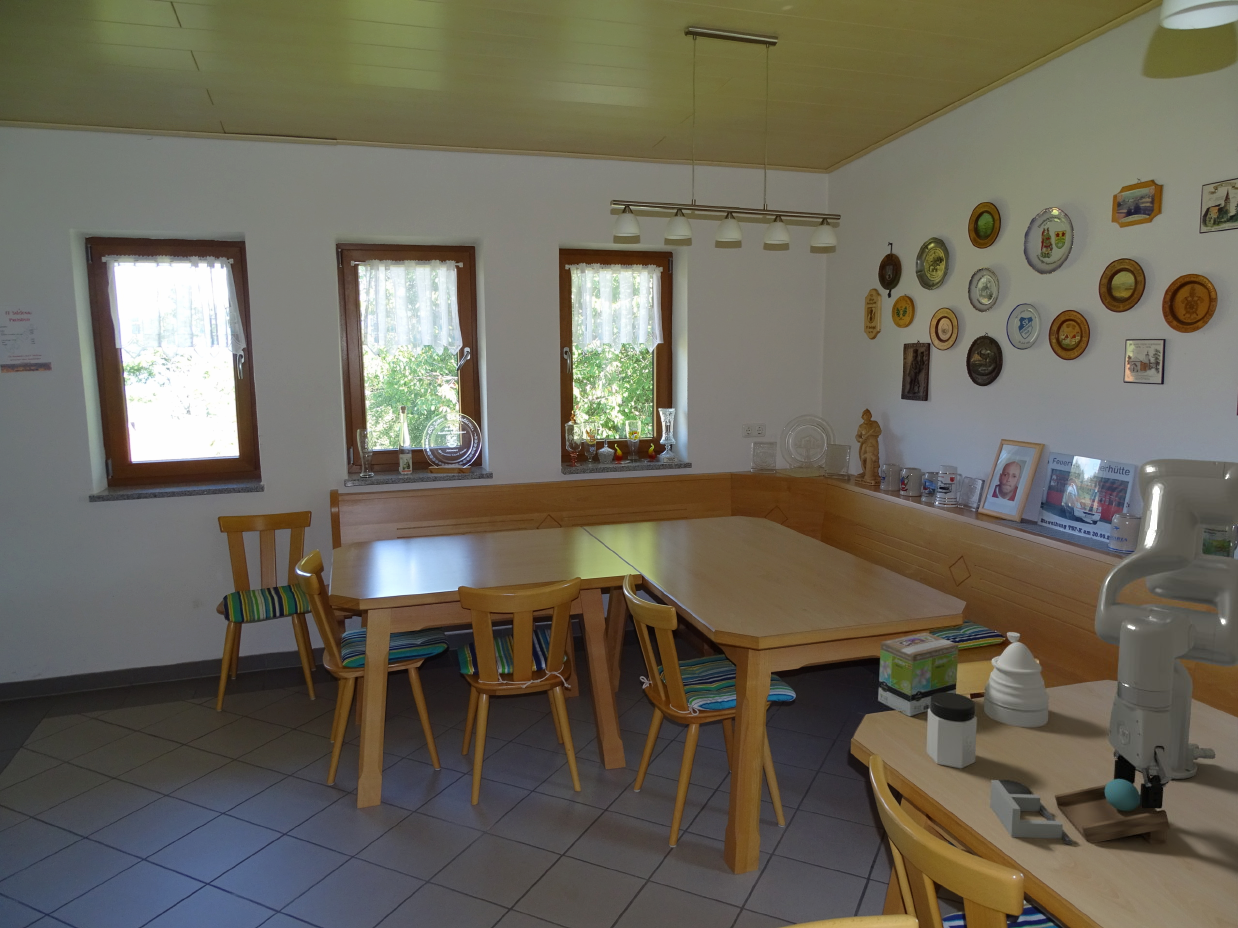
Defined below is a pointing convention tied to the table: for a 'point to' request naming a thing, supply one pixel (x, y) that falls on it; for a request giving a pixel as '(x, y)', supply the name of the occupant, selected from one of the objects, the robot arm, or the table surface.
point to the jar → (951, 730)
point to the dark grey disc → (1015, 787)
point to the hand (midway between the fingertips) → (1137, 793)
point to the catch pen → (1009, 814)
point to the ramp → (1110, 817)
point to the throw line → (1050, 818)
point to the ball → (1122, 795)
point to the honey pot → (1016, 688)
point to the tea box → (916, 671)
